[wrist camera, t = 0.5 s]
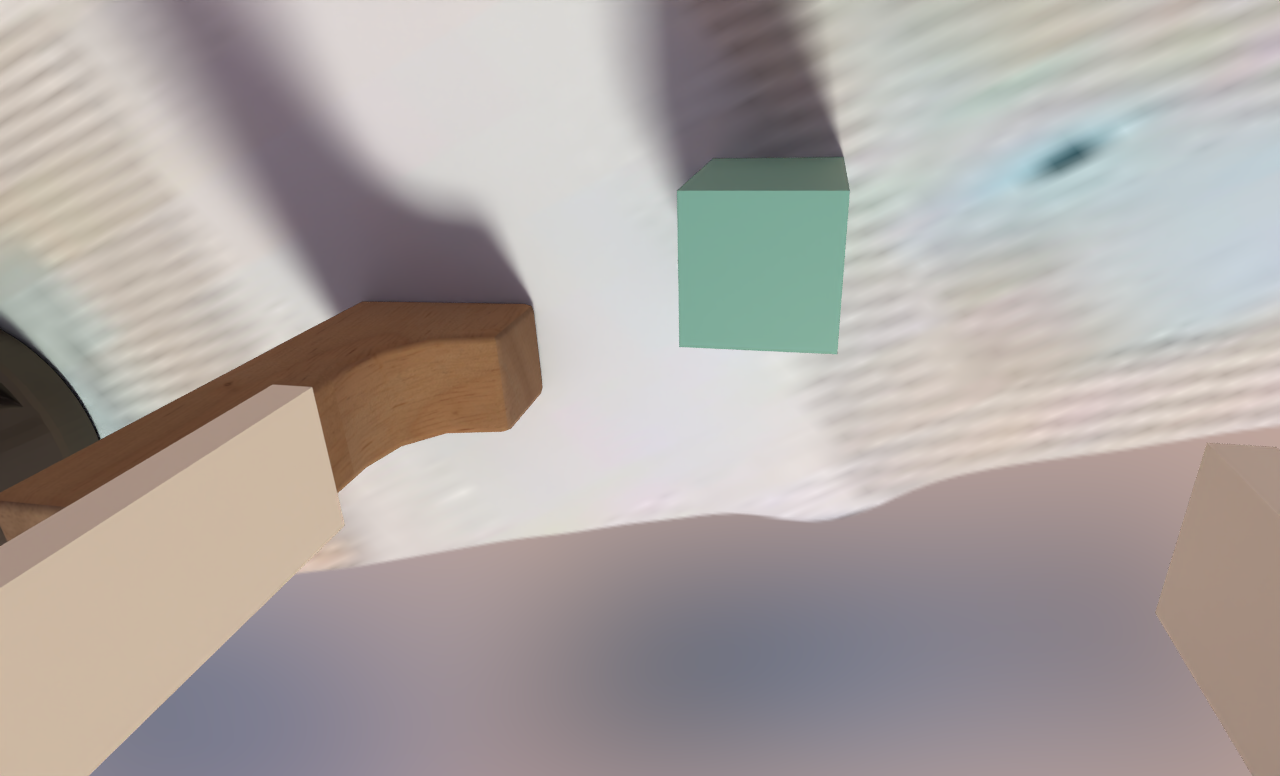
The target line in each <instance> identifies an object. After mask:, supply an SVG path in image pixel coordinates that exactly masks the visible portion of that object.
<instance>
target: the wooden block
mask: <svg viewBox="0 0 1280 776" xmlns="http://www.w3.org/2000/svg"><path fill="white" fill-rule="evenodd" d="M271 385H288V386H304V387H312V388H313V393H314V397H315V401H316V405H317V409H318V414H319V418H320V422H321V426H322V431H323V435H324V439H325V443H326V448H327V452H328V456H329V460H330V464H331V469H332V473H333V477H334V481H335V486H336V490H337V493H338V492H339V491H340V490H342V489H343V488H344V487H345V486H346V485H347V484H348V483H349V482H351V481H352V480H353V479H354V478H355V477H356V476H357V475H358V474H359V473H361V472H362V471H363V470H364V469H365V468H366V467H368V466H369V465H371V464H373V463H374V462H376V461H378V460H379V459H381V458H383V457H384V456H386V455H388V454H389V453H391V452H393V451H394V450H396V449H398V448H399V447H401V446H404V445H407V444H411V443H414V442H418V441H421V440H425V439H428V438H431V437H435V436H438V435H442V434H445V433H468V432H502V431H506V430H508V429H511V428H512V427H513V426H514V424H515V423H516V422H517V421H518V420H519V418H520V417H521V416H522V415H523V414H524V413H525V411H526V410H527V409H528V408H529V407H530V405H531V404H532V403H533V402H534V401H535V400H536V398H537V397H538V396H539V395H540V394H541V391H542V379H541V370H540V362H539V353H538V345H537V336H536V328H535V319H534V311H533V309H532V306H529V305H526V304H491V303H430V302H361V303H359V304H357V305H355V306H353V307H351V308H349V309H347V310H345V311H343V312H341V313H340V314H338V315H336V316H334V317H332V318H330V319H328V320H326V321H324V322H322V323H320V324H318V325H316V326H314V327H312V328H311V329H309V330H307V331H305V332H303V333H301V334H299V335H297V336H295V337H293V338H292V339H290V340H288V341H286V342H284V343H282V344H280V345H278V346H277V347H275V348H273V349H271V350H269V351H267V352H265V353H263V354H262V355H260V356H258V357H256V358H254V359H252V360H250V361H248V362H246V363H245V364H243V365H241V366H239V367H237V368H235V369H233V370H231V371H230V372H228V373H226V374H224V375H222V376H220V377H218V378H216V379H214V380H213V381H211V382H209V383H207V384H205V385H203V386H201V387H199V388H197V389H195V390H194V391H192V392H190V393H188V394H186V395H184V396H182V397H180V398H178V399H177V400H175V401H173V402H171V403H169V404H167V405H165V406H163V407H161V408H159V409H158V410H156V411H154V412H152V413H150V414H148V415H146V416H144V417H142V418H141V419H139V420H137V421H135V422H133V423H131V424H129V425H127V426H125V427H123V428H122V429H120V430H118V431H116V432H114V433H112V434H110V435H108V436H106V437H105V438H103V439H101V440H99V441H97V442H95V443H93V444H91V445H89V446H87V447H86V448H84V449H82V450H80V451H78V452H76V453H74V454H72V455H70V456H69V457H67V458H65V459H63V460H61V461H59V462H57V463H55V464H53V465H51V466H50V467H48V468H46V469H44V470H42V471H40V472H38V473H36V474H34V475H33V476H31V477H29V478H27V479H25V480H23V481H21V482H19V483H17V484H15V485H14V486H12V487H10V488H8V489H6V490H4V491H2V492H0V527H1V529H2V531H3V534H4V536H5V538H6V540H7V542H8V541H10V540H12V539H13V538H15V537H17V536H18V535H20V534H22V533H23V532H25V531H27V530H28V529H30V528H32V527H33V526H35V525H37V524H39V523H40V522H42V521H44V520H45V519H47V518H49V517H50V516H52V515H54V514H55V513H57V512H59V511H60V510H62V509H64V508H65V507H67V506H69V505H71V504H72V503H74V502H76V501H77V500H79V499H81V498H82V497H84V496H86V495H87V494H89V493H91V492H92V491H94V490H96V489H97V488H99V487H101V486H103V485H104V484H106V483H108V482H109V481H111V480H113V479H114V478H116V477H118V476H119V475H121V474H123V473H124V472H126V471H128V470H129V469H131V468H133V467H135V466H136V465H138V464H140V463H141V462H143V461H145V460H146V459H148V458H150V457H151V456H153V455H155V454H156V453H158V452H160V451H162V450H163V449H165V448H167V447H168V446H170V445H172V444H173V443H175V442H177V441H178V440H180V439H182V438H183V437H185V436H187V435H188V434H190V433H192V432H194V431H195V430H197V429H199V428H200V427H202V426H204V425H205V424H207V423H209V422H210V421H212V420H214V419H215V418H217V417H219V416H220V415H222V414H224V413H226V412H227V411H229V410H231V409H232V408H234V407H236V406H237V405H239V404H241V403H242V402H244V401H246V400H247V399H249V398H251V397H252V396H254V395H256V394H258V393H259V392H261V391H263V390H264V389H266V388H268V387H269V386H271Z"/></svg>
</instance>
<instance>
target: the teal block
mask: <svg viewBox="0 0 1280 776" xmlns="http://www.w3.org/2000/svg"><path fill="white" fill-rule="evenodd" d="M849 193H850V189H849V184H848V178H847V173H846V167H845V162H844V157H803V158H713V159H712V160H711V161H710V162H709V163H707V164H706V165H705V166H704V167H703V168H702V169H701V170H700V171H699V172H697V173H696V174H695V175H694V176H693V177H692V178H691V179H690V180H689V181H687V182H686V183H685V184H684V185H683V186H682V187H681V188H680V189H678V190H677V215H678V283H679V347H693V348H715V349H736V350H757V351H779V352H800V353H821V354H837V349H838V336H839V323H840V310H841V297H842V284H843V271H844V258H845V245H846V232H847V219H848V206H849Z"/></svg>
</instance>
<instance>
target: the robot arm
mask: <svg viewBox="0 0 1280 776" xmlns="http://www.w3.org/2000/svg"><path fill="white" fill-rule="evenodd" d="M97 441H99V439H98V437H97V434H96V432H95V430H94V428H93V426H92V423H91V422H90V420H89V418H88V416H87V414H86V413H85V411H84V409H83V408H82V406H81V404H80V403H79V401H78V400H77V398H76V397H75V396H74V394H73V393H72V392H71V390H70V389H69V388H68V386H67V385H66V384H65V383H64V382H63V380H62V379H61V378H60V377H59V376H58V375H57V374H56V373H55V371H54V370H53V369H52V368H51V367H50V366H49V365H48V364H47V363H45V362H44V361H43V360H42V359H41V358H40V357H39V356H38V355H37V354H35V353H34V352H33V351H32V350H31V349H29V348H28V347H27V346H25V345H24V344H23V343H21V342H20V341H18V340H17V339H16V338H14V337H12V336H11V335H9V334H8V333H6V332H4V331H2V330H1V329H0V492H2V491H4V490H6V489H8V488H10V487H12V486H14V485H15V484H17V483H19V482H21V481H23V480H25V479H27V478H29V477H31V476H33V475H34V474H36V473H38V472H40V471H42V470H44V469H46V468H48V467H50V466H51V465H53V464H55V463H57V462H59V461H61V460H63V459H65V458H67V457H69V456H70V455H72V454H74V453H76V452H78V451H80V450H82V449H84V448H86V447H87V446H89V445H91V444H93V443H95V442H97ZM344 526H345V524H344V519H343V515H342V511H341V507H340V502H339V498H338V494H337V490H336V486H335V481H334V477H333V473H332V469H331V464H330V460H329V456H328V452H327V448H326V443H325V439H324V435H323V431H322V426H321V422H320V418H319V414H318V409H317V405H316V401H315V397H314V393H313V388H312V387H304V386H288V385H271V386H269V387H268V388H266V389H264V390H263V391H261V392H259V393H258V394H256V395H254V396H252V397H251V398H249V399H247V400H246V401H244V402H242V403H241V404H239V405H237V406H236V407H234V408H232V409H231V410H229V411H227V412H226V413H224V414H222V415H220V416H219V417H217V418H215V419H214V420H212V421H210V422H209V423H207V424H205V425H204V426H202V427H200V428H199V429H197V430H195V431H194V432H192V433H190V434H188V435H187V436H185V437H183V438H182V439H180V440H178V441H177V442H175V443H173V444H172V445H170V446H168V447H167V448H165V449H163V450H162V451H160V452H158V453H156V454H155V455H153V456H151V457H150V458H148V459H146V460H145V461H143V462H141V463H140V464H138V465H136V466H135V467H133V468H131V469H129V470H128V471H126V472H124V473H123V474H121V475H119V476H118V477H116V478H114V479H113V480H111V481H109V482H108V483H106V484H104V485H103V486H101V487H99V488H97V489H96V490H94V491H92V492H91V493H89V494H87V495H86V496H84V497H82V498H81V499H79V500H77V501H76V502H74V503H72V504H71V505H69V506H67V507H65V508H64V509H62V510H60V511H59V512H57V513H55V514H54V515H52V516H50V517H49V518H47V519H45V520H44V521H42V522H40V523H39V524H37V525H35V526H33V527H32V528H30V529H28V530H27V531H25V532H23V533H22V534H20V535H18V536H17V537H15V538H13V539H12V540H10V541H8V542H7V540H6V538H5V536H4V534H3V531H2V529H1V527H0V776H89V775H90V774H91V773H92V772H93V771H94V770H95V769H96V768H97V767H98V766H99V765H100V764H101V763H102V762H103V761H104V760H105V759H106V758H107V757H108V756H109V755H110V754H111V753H112V752H113V751H114V750H115V749H116V748H117V747H119V746H120V745H121V744H122V743H123V742H124V741H125V740H126V739H127V738H128V737H129V736H130V735H131V734H132V733H133V732H134V731H135V730H136V729H137V728H138V727H139V726H140V725H141V724H142V723H143V722H144V721H145V720H146V719H147V718H148V717H149V716H150V715H151V714H152V713H153V712H154V711H155V710H156V709H157V708H158V707H159V706H160V705H162V703H164V702H165V701H166V700H167V699H168V698H169V697H170V696H171V695H172V694H173V693H174V692H175V691H176V690H177V689H178V688H179V687H180V686H181V685H182V684H183V683H184V682H185V681H186V680H187V679H188V678H189V677H190V676H191V675H192V674H193V673H194V672H195V671H196V670H197V669H198V668H199V667H200V666H201V665H202V664H203V663H205V661H207V660H208V659H209V658H210V657H211V656H212V655H213V654H214V653H215V652H216V651H217V650H218V649H219V648H220V647H221V646H222V645H223V644H224V643H225V642H226V641H227V640H228V639H229V638H230V637H231V636H232V635H233V634H234V633H235V632H236V631H237V630H238V629H239V628H240V627H241V626H242V625H243V624H244V623H245V622H246V621H247V620H248V619H250V618H251V617H252V615H254V614H255V613H256V612H257V611H258V610H259V609H260V608H261V607H262V606H263V605H264V604H265V603H266V602H267V601H268V600H269V599H270V598H271V597H272V596H273V595H274V594H275V593H276V592H277V591H278V590H279V589H280V588H281V587H282V586H283V585H284V584H285V583H286V582H287V581H288V580H289V579H290V578H291V577H293V576H294V575H295V574H296V573H297V572H298V571H299V570H300V569H301V568H302V567H303V566H304V565H305V564H306V563H307V562H308V561H309V560H310V559H311V558H312V557H313V556H314V555H315V554H316V553H317V552H318V551H319V550H320V549H321V548H322V547H323V546H324V545H325V544H326V543H327V542H328V541H329V540H330V539H331V538H332V537H333V536H335V535H336V534H337V533H338V532H339V531H340V530H341V529H342V528H343V527H344ZM1155 613H1156V615H1157V617H1158V618H1159V620H1160V622H1161V623H1162V625H1163V627H1164V628H1165V630H1166V632H1167V633H1168V635H1169V637H1170V639H1171V640H1172V642H1173V643H1174V645H1175V647H1176V648H1177V650H1178V652H1179V654H1180V655H1181V657H1182V659H1183V660H1184V662H1185V663H1186V665H1187V667H1188V669H1189V670H1190V672H1191V674H1192V675H1193V677H1194V679H1195V680H1196V682H1197V684H1198V685H1199V687H1200V689H1201V690H1202V692H1203V693H1204V696H1205V697H1206V699H1207V700H1208V702H1209V704H1210V706H1211V707H1212V709H1213V711H1214V712H1215V714H1216V716H1217V717H1218V719H1219V721H1220V722H1221V724H1222V726H1223V727H1224V729H1225V730H1226V732H1227V734H1228V736H1229V737H1230V739H1231V741H1232V742H1233V744H1234V746H1235V747H1236V749H1237V751H1238V752H1239V754H1240V756H1241V758H1242V759H1243V761H1244V763H1245V764H1246V766H1247V768H1248V769H1249V771H1250V773H1251V774H1252V776H1280V450H1279V449H1278V448H1277V447H1267V446H1252V445H1235V444H1220V443H1207V444H1206V448H1205V451H1204V454H1203V457H1202V461H1201V464H1200V467H1199V470H1198V474H1197V477H1196V480H1195V483H1194V487H1193V490H1192V494H1191V497H1190V500H1189V503H1188V507H1187V510H1186V513H1185V516H1184V520H1183V523H1182V526H1181V529H1180V533H1179V536H1178V539H1177V542H1176V546H1175V549H1174V552H1173V556H1172V559H1171V562H1170V566H1169V569H1168V572H1167V575H1166V579H1165V582H1164V585H1163V588H1162V592H1161V595H1160V598H1159V602H1158V605H1157V608H1156V612H1155Z"/></svg>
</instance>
